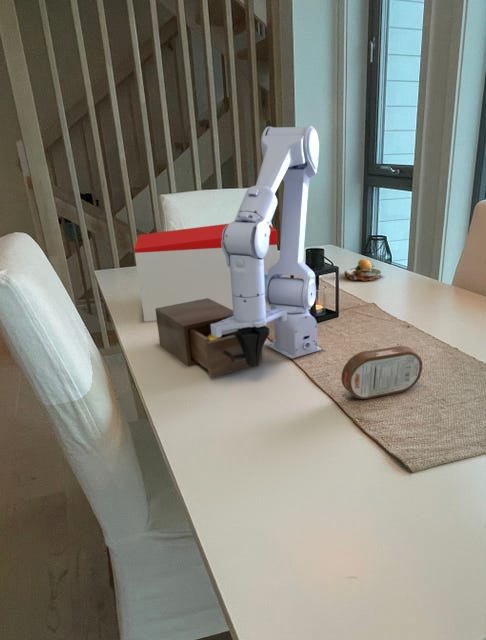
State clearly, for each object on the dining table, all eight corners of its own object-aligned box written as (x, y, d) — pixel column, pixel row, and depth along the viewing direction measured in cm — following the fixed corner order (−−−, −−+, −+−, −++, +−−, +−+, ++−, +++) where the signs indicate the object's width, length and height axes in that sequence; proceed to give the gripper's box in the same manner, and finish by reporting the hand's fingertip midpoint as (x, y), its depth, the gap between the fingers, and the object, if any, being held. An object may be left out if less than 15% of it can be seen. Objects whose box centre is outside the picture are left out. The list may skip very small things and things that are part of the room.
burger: (377, 272, 173) (378, 250, 170) (384, 281, 163) (385, 257, 160) (341, 273, 173) (342, 251, 170) (346, 282, 162) (347, 258, 159)
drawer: (274, 369, 99) (273, 336, 96) (222, 385, 93) (219, 350, 90) (230, 342, 112) (227, 313, 110) (181, 355, 106) (178, 324, 103)
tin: (413, 383, 95) (417, 340, 91) (423, 390, 92) (427, 347, 89) (340, 397, 90) (340, 353, 87) (347, 405, 87) (348, 360, 84)
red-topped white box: (280, 310, 136) (278, 230, 128) (144, 321, 129) (132, 238, 121) (267, 289, 155) (264, 219, 146) (147, 298, 147) (137, 225, 139)
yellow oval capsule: (220, 348, 100) (204, 341, 99) (214, 363, 101) (198, 356, 100) (225, 332, 108) (210, 326, 107) (219, 346, 109) (204, 340, 108)
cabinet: (242, 351, 110) (239, 313, 107) (187, 366, 103) (183, 326, 100) (211, 333, 121) (207, 297, 117) (160, 345, 114) (155, 308, 110)
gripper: (222, 306, 82) (228, 382, 87) (295, 290, 89) (297, 361, 95) (202, 296, 87) (209, 369, 92) (273, 282, 95) (276, 350, 100)
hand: (252, 364), depth 94 cm, fingers closed
